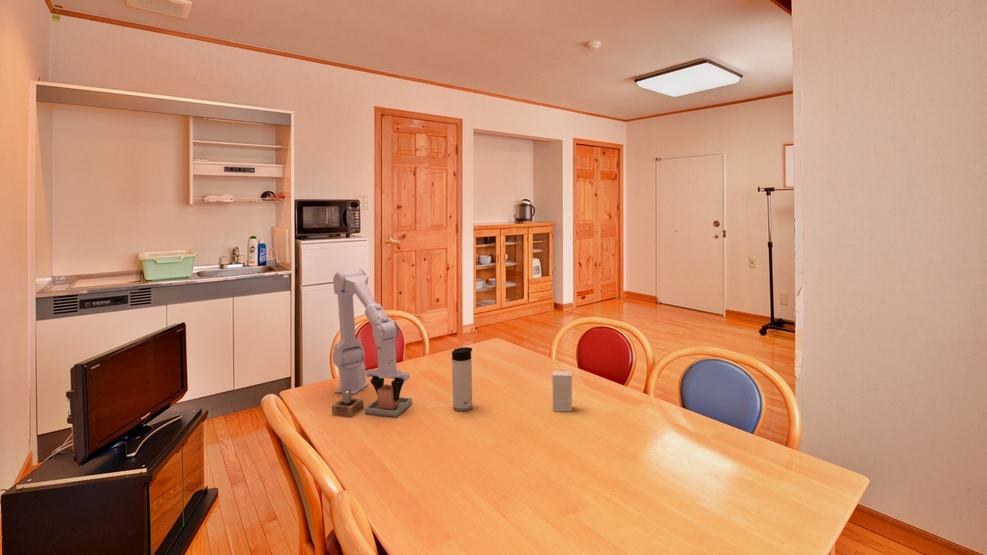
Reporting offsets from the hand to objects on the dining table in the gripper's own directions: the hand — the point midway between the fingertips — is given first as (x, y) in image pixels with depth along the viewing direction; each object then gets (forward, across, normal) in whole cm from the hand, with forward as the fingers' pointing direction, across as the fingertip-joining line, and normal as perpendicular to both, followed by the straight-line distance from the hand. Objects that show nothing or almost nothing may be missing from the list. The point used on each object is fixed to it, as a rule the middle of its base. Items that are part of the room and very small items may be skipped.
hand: (388, 399), depth 154 cm
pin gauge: (+3, -12, -5) cm, 13 cm away
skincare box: (+3, +54, +14) cm, 56 cm away
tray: (+3, 0, 0) cm, 3 cm away
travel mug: (+3, +23, +7) cm, 24 cm away
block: (+2, 0, 0) cm, 2 cm away
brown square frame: (+3, -12, -5) cm, 13 cm away
